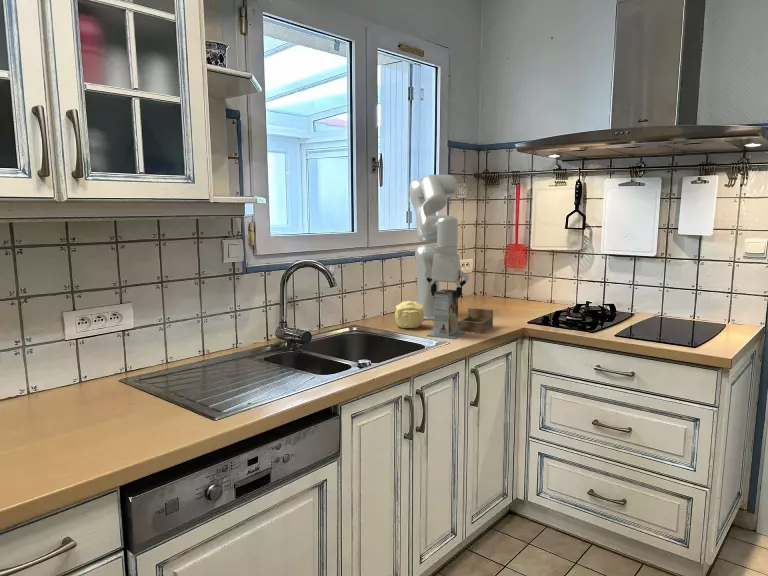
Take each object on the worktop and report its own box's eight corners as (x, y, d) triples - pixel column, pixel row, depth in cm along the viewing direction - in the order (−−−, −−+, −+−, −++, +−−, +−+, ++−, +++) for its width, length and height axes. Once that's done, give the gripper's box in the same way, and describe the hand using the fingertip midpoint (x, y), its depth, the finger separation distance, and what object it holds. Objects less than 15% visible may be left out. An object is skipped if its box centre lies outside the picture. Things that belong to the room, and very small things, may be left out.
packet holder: (457, 331, 217) (458, 313, 216) (468, 324, 228) (468, 307, 227) (483, 333, 212) (483, 315, 211) (492, 327, 224) (493, 309, 223)
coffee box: (442, 329, 217) (443, 288, 214) (458, 331, 214) (458, 290, 211) (433, 334, 209) (433, 292, 206) (449, 336, 206) (449, 293, 203)
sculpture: (395, 330, 218) (395, 303, 217) (394, 324, 230) (394, 298, 229) (425, 330, 219) (425, 303, 217) (421, 323, 231) (422, 298, 229)
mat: (427, 336, 209) (427, 334, 209) (437, 330, 218) (437, 329, 218) (455, 339, 204) (455, 337, 204) (464, 333, 213) (464, 331, 213)
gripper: (421, 250, 207) (420, 296, 210) (466, 253, 200) (464, 300, 203) (429, 248, 214) (428, 292, 217) (472, 251, 206) (471, 296, 209)
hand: (446, 296), depth 210 cm, fingers open, 9 cm apart
